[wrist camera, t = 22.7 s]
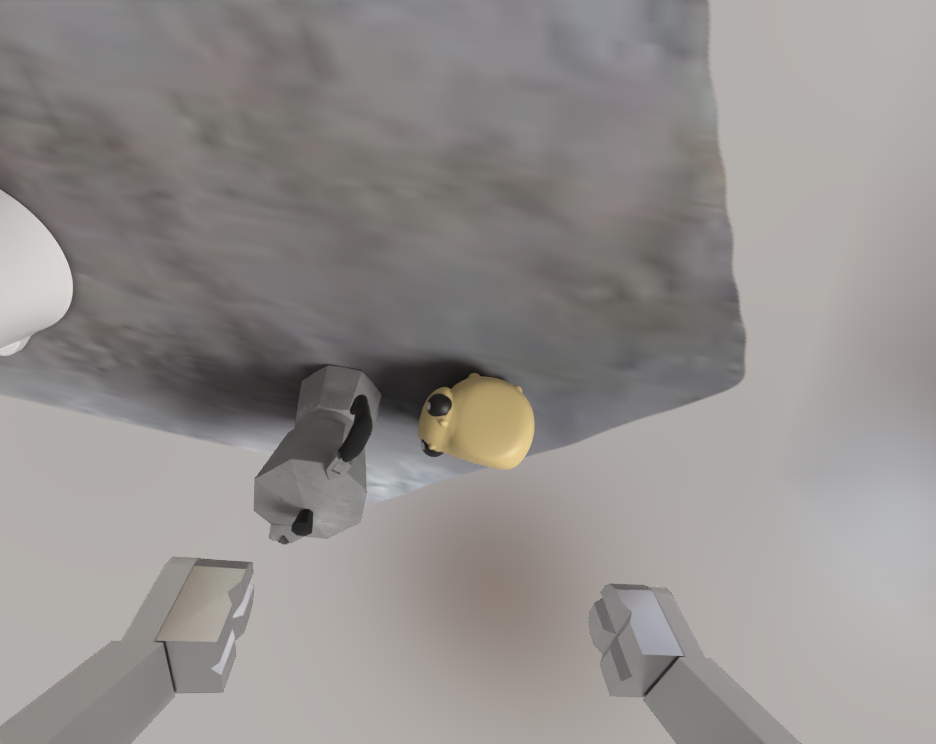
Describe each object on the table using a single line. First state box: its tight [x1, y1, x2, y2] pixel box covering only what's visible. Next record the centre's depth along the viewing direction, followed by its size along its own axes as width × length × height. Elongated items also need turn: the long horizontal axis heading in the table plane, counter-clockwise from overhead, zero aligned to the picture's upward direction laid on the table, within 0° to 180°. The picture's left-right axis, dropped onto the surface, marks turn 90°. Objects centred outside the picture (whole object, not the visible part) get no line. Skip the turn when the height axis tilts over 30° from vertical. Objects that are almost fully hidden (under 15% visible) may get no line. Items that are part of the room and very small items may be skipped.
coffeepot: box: [254, 365, 382, 544], centre depth 40 cm, size 15×9×18 cm, turn 143°
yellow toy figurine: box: [418, 373, 534, 470], centre depth 45 cm, size 10×12×11 cm
